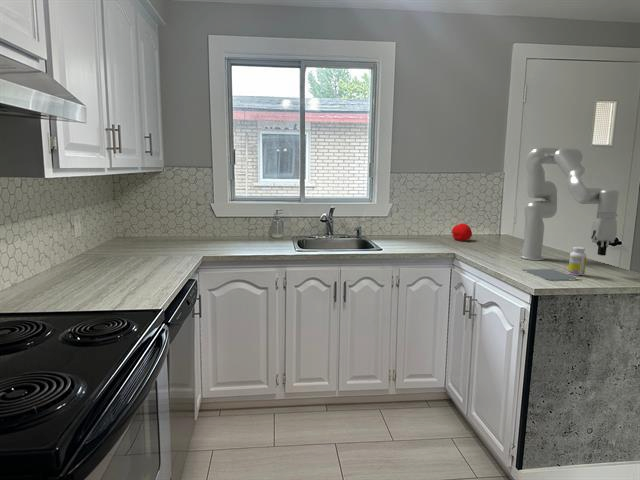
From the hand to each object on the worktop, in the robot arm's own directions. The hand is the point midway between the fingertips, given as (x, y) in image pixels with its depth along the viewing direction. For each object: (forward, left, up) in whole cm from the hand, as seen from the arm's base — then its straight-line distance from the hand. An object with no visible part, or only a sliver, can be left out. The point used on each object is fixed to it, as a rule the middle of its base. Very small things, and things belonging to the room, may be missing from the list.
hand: (601, 254), depth 207 cm
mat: (0, -25, -9) cm, 27 cm away
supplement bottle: (0, -12, -10) cm, 15 cm away
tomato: (-97, -22, -10) cm, 100 cm away
